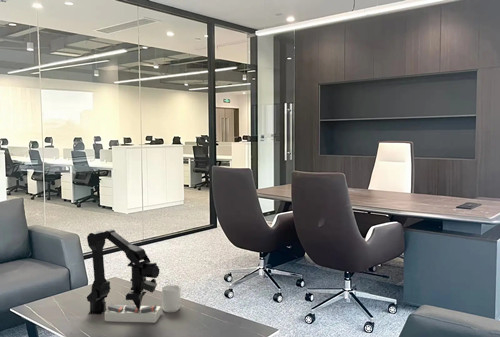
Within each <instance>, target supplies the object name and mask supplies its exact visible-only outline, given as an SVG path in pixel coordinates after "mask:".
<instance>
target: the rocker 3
mask: <svg viewBox="0 0 500 337" xmlns="http://www.w3.org/2000/svg"><path fill="white" fill-rule="evenodd" d="M148 306H149V307H145V308H142V309H141V313H147V312H152V311H155V310H156V306H157V305H156V304H154V305H148Z"/></svg>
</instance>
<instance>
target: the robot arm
mask: <svg viewBox="0 0 500 337" xmlns="http://www.w3.org/2000/svg"><path fill="white" fill-rule="evenodd" d="M86 240H87V246H88V247H89V249H90V250H91V256H92V266H93V283H92V285H91V288H90V289H91V292H90V293H89V294H88V295H87V296H86V300H87V302H89V311H88V314H91V315H92V314H93V315H102V314H103V313H105V312H106V311H107V307H106V306H107V304H106V303H107V301H106V300H105V299H106V298H107V297H108V294H109V293H110V290H111V282H110V281H109V280H107V279H106V276H105V275H106V274H105V264H104V263H105V262H104V248H105V244H106V240H108V241H109V242H111V243H112V244H113V245H114V246H115V247H116V248H118V249H120V250H121V251H122V252H123V253H124V254H125V257H126V258H127V259H128V261H129V263H128V264H127V265H126V266H127V267H131V278H130V283H131V287H130V291H129V292H127V293H126V295H125V300H126V301H132V302H133V303H134V306H136V307H137V309H140V306H142V302H143V297H144V296H145V294H146V293H147V292H149V293H155V290H156V287H157V286H158V284H157V280H156V279H157V278H158V277H159V275H160V268H159V266H158V264H157V262H152V261H151V260H150V258H149V257H148V254H147V253H146V250H145V249H144V248H142V247H140V246H138V245H134V244H132V243H131V242H129V241H128V240H126V238H124V237H123V236H121V235H120V234H119V233H118V232H116V230H115V229H108V230H105V231H102V230H98V231H94V232H90V233H88V235H87V237H86ZM147 278H150V279H151V280H147ZM144 290H145V291H144Z"/></svg>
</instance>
